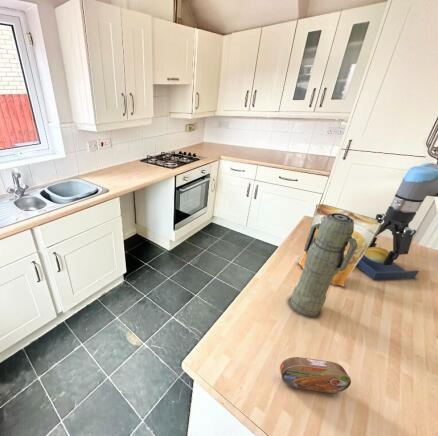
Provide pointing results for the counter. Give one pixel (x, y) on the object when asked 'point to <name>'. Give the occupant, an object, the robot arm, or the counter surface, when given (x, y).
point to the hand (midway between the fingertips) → (376, 257)
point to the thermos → (323, 262)
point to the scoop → (384, 270)
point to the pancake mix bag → (362, 234)
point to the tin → (314, 375)
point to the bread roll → (376, 254)
